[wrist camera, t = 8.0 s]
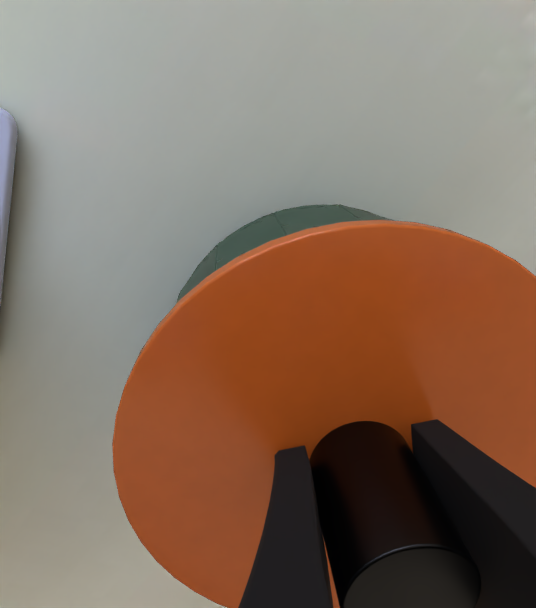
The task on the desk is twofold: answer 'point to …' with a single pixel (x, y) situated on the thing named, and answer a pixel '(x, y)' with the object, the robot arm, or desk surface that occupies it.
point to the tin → (272, 234)
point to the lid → (330, 406)
